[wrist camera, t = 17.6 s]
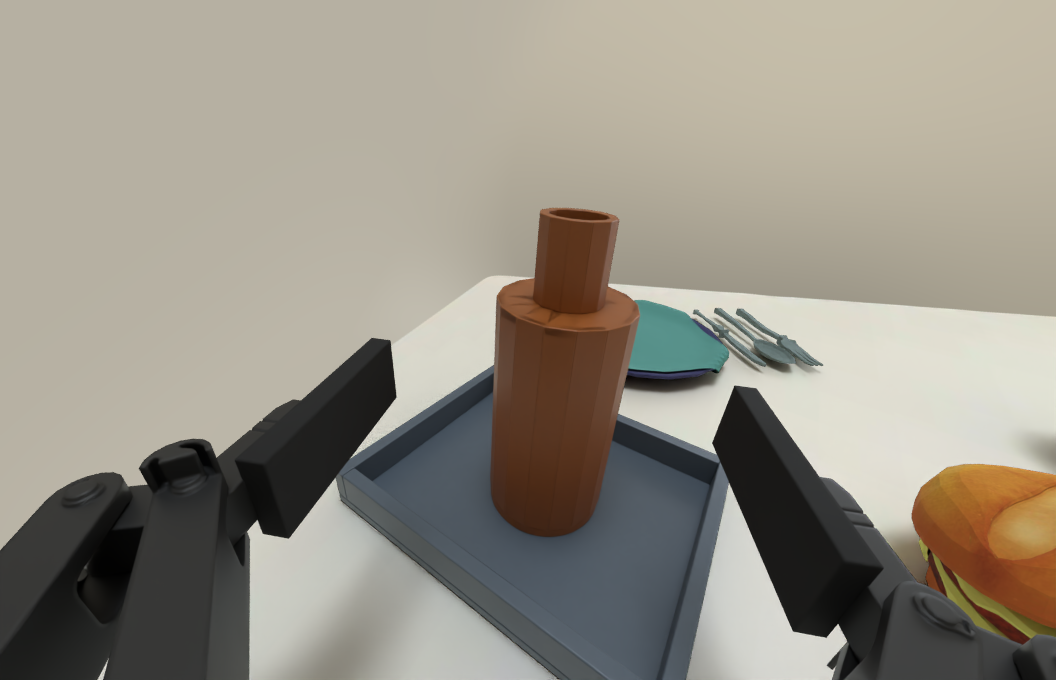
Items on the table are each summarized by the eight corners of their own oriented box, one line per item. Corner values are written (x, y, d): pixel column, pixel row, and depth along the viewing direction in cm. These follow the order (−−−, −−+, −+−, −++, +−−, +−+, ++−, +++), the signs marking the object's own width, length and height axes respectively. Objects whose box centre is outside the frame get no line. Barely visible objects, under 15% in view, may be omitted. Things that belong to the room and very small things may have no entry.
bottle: (468, 497, 23) (467, 209, 15) (528, 437, 28) (550, 198, 21) (565, 560, 20) (626, 240, 12) (613, 480, 25) (677, 218, 18)
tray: (340, 500, 23) (333, 469, 22) (495, 386, 35) (496, 362, 34) (657, 760, 14) (674, 732, 13) (721, 489, 26) (733, 461, 25)
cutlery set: (535, 309, 52) (536, 293, 51) (734, 313, 56) (739, 298, 55) (564, 394, 35) (567, 373, 34) (849, 391, 39) (860, 372, 38)
